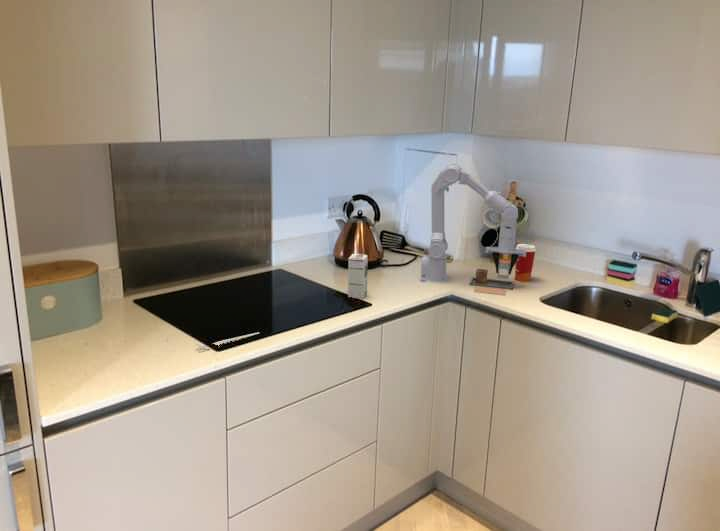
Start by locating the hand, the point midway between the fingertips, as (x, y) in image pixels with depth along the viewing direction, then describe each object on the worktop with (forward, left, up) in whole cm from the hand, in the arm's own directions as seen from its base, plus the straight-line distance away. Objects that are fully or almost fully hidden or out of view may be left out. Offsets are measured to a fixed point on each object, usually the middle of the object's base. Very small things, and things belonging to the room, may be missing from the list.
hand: (503, 273), depth 221 cm
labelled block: (0, 0, -2) cm, 2 cm away
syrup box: (-48, -29, -6) cm, 57 cm away
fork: (-70, -80, -6) cm, 107 cm away
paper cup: (+7, +11, -6) cm, 14 cm away
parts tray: (-4, 0, -5) cm, 7 cm away
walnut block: (-8, 0, -5) cm, 9 cm away
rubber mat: (-4, -8, -5) cm, 10 cm away
